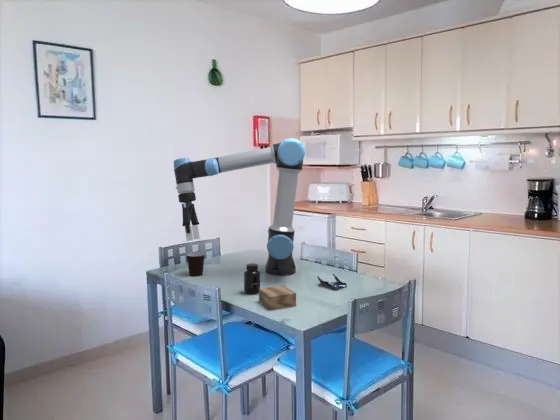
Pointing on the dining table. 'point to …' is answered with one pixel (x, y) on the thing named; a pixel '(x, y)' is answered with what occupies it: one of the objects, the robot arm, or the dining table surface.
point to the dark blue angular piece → (332, 282)
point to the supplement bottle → (251, 279)
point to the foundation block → (277, 297)
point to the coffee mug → (195, 263)
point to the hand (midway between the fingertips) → (193, 239)
